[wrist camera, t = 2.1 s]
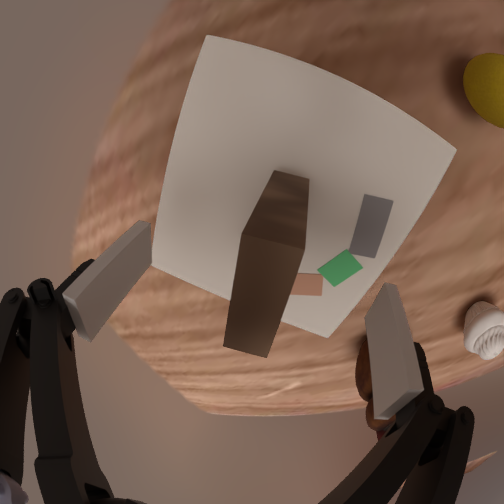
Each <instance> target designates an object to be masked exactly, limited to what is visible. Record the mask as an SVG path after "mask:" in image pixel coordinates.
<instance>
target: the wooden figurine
mask: <svg viewBox="0 0 504 504" xmlns="http://www.w3.org/2000/svg"><path fill="white" fill-rule="evenodd" d="M355 378H356V386H357V389H358V392H359V395H360V396H361V397H362V398H363V400H365V401H367V402H368V405H367V407H366V420H367V424H368V426H369V427H370V428H371V429H373V430H375V431H376V432H377V438H378V441H379V440H380V439H381V437H382V436H383V435H384V433H385V432H386V431H387V430H388V429H387V430H386V431H384V429H385V428H386V427H387V426H389V425H390V424H392V423H393V422H394V421H396V415H393V416H392V417H391V418H389V419H388V420H387V419H374V404H373V389H372V376H371V366H370V356H369V347H368V339H367V340H366V341H365V342H364V343H363V345H362V347H361V349H360V352H359V355H358V358H357V363H356V372H355Z"/></svg>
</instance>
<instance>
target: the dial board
mask: <svg viewBox="0 0 504 504" xmlns="http://www.w3.org/2000/svg"><path fill="white" fill-rule="evenodd" d="M456 151H457V149H456V148H454V147H453V146H452V145H451V144H449V143H448V142H447V141H445V140H444V139H443V138H442V137H440V136H439V135H438V134H436V133H435V132H433V131H432V130H431V129H429V128H428V127H426V126H425V125H424V124H422V123H421V122H419V121H418V120H416V119H415V118H413V117H412V116H410V115H409V114H407V113H405V112H404V111H402V110H401V109H399V108H397V107H396V106H394V105H392V104H391V103H389V102H387V101H386V100H384V99H382V98H380V97H379V96H377V95H375V94H373V93H371V92H369V91H367V90H366V89H364V88H362V87H360V86H358V85H356V84H354V83H352V82H350V81H348V80H346V79H343V78H341V77H339V76H337V75H335V74H332V73H330V72H328V71H326V70H323V69H321V68H318V67H316V66H313V65H311V64H308V63H306V62H303V61H301V60H298V59H295V58H292V57H289V56H287V55H284V54H281V53H278V52H274V51H271V50H268V49H265V48H261V47H258V46H254V45H250V44H247V43H243V42H239V41H235V40H230V39H226V38H221V37H216V36H211V35H206V38H205V40H204V43H203V46H202V48H201V51H200V54H199V56H198V59H197V62H196V65H195V68H194V71H193V74H192V77H191V80H190V83H189V86H188V89H187V92H186V96H185V99H184V102H183V106H182V109H181V113H180V116H179V120H178V124H177V127H176V131H175V135H174V139H173V143H172V147H171V151H170V155H169V160H168V164H167V168H166V173H165V178H164V182H163V187H162V192H161V198H160V203H159V208H158V214H157V220H156V226H155V232H154V239H153V246H152V264H151V266H153V267H156V268H158V269H160V270H162V271H164V272H166V273H168V274H171V275H173V276H175V277H177V278H179V279H182V280H184V281H186V282H188V283H191V284H193V285H195V286H197V287H200V288H202V289H204V290H206V291H209V292H211V293H213V294H216V295H218V296H220V297H223V298H225V299H228V300H230V299H231V293H232V287H233V281H234V275H235V269H236V263H237V257H238V251H239V245H240V239H241V233H242V231H243V229H244V228H245V226H246V224H247V222H248V220H249V218H250V216H251V214H252V212H253V210H254V208H255V206H256V204H257V202H258V200H259V198H260V196H261V194H262V192H263V190H264V188H265V187H266V185H267V183H268V181H269V179H270V177H271V175H272V173H273V171H274V170H276V171H280V172H284V173H289V174H293V175H297V176H300V177H304V178H308V179H309V199H308V216H307V231H306V245H305V252H304V255H303V258H302V261H301V264H300V267H299V270H298V273H297V276H296V279H295V282H294V285H293V287H292V290H291V293H290V296H289V299H288V302H287V305H286V307H285V310H284V313H283V316H282V318H281V321H282V322H285V323H288V324H290V325H293V326H296V327H298V328H301V329H304V330H306V331H309V332H312V333H315V334H317V335H320V336H323V337H326V338H328V337H329V336H330V335H331V334H332V333H333V332H334V331H335V329H336V328H337V327H338V326H339V325H340V324H341V322H342V321H343V320H344V319H345V318H346V317H347V315H348V314H349V313H350V312H351V311H352V309H353V308H354V307H355V306H356V305H357V303H358V302H359V301H360V300H361V298H362V297H363V296H364V295H365V293H366V292H367V291H368V289H369V288H370V287H371V286H372V284H373V283H374V282H375V280H376V279H377V278H378V276H379V275H380V274H381V272H382V271H383V270H384V268H385V267H386V266H387V264H388V263H389V261H390V260H391V259H392V257H393V256H394V254H395V253H396V252H397V250H398V249H399V247H400V246H401V244H402V243H403V241H404V240H405V238H406V237H407V235H408V234H409V232H410V231H411V229H412V228H413V226H414V225H415V223H416V222H417V220H418V218H419V217H420V215H421V214H422V212H423V210H424V209H425V207H426V205H427V204H428V202H429V200H430V199H431V197H432V195H433V194H434V192H435V190H436V188H437V187H438V185H439V183H440V181H441V180H442V178H443V176H444V174H445V172H446V170H447V168H448V166H449V165H450V163H451V161H452V159H453V157H454V155H455V153H456Z"/></svg>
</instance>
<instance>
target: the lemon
mask: <svg viewBox="0 0 504 504" xmlns="http://www.w3.org/2000/svg"><path fill="white" fill-rule="evenodd" d="M463 85H464V91H465V93H466V96H467V99H468V100H469V102H470V104H471V106H472V107H473V108H474V110H475V111H476V112H477V113H478V114H479V115H480V116H481V117H482V118H483V119H485V120H486V121H488V122H489V123H491V124H493V125H495V126H497V127H500V128H504V55H501V54H495V53H485V54H481V55H478V56H476V57H474V58H473V59H472V60H470V61H469V63H468V64H467V66H466V68H465V70H464V75H463Z"/></svg>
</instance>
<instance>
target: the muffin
mask: <svg viewBox="0 0 504 504" xmlns="http://www.w3.org/2000/svg"><path fill="white" fill-rule="evenodd" d="M464 346H465V348H466V349H467V350H468V351H470V352H472V353H476V354H479V355H480V357H481V358H482V359H484V360H490V359H493V358H494V357H496V356H497V355H498V354H500V352H501V351H502V350H503V348H504V312H503V311H502V310H500V309H499V308H498V307H496V306H494V305H492V304H490V303H487V302H485V301H478V302H476V303H475V304H473V305H472V306H471V307H470V308H469V309H468V311H467V313H466V317H465V325H464Z"/></svg>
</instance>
